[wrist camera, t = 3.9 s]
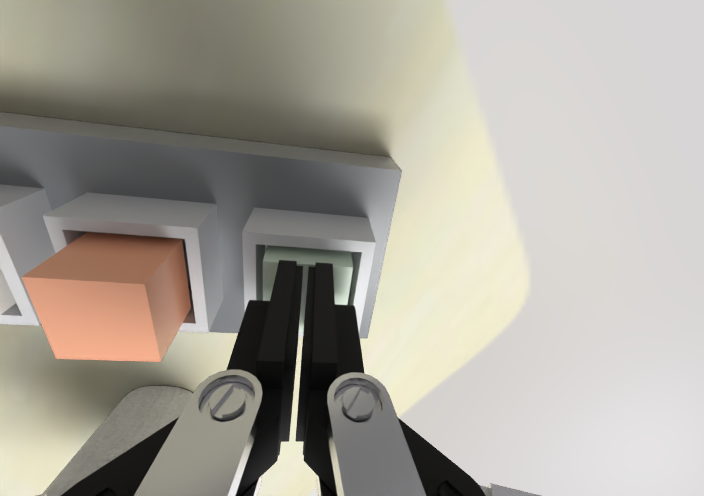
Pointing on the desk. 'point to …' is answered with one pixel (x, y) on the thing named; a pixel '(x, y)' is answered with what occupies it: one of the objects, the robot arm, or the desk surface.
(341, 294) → the button
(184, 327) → the panel
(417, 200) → the desk surface
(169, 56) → the desk surface
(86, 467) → the house plant
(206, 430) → the robot arm
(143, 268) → the button
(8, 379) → the desk surface
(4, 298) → the button
